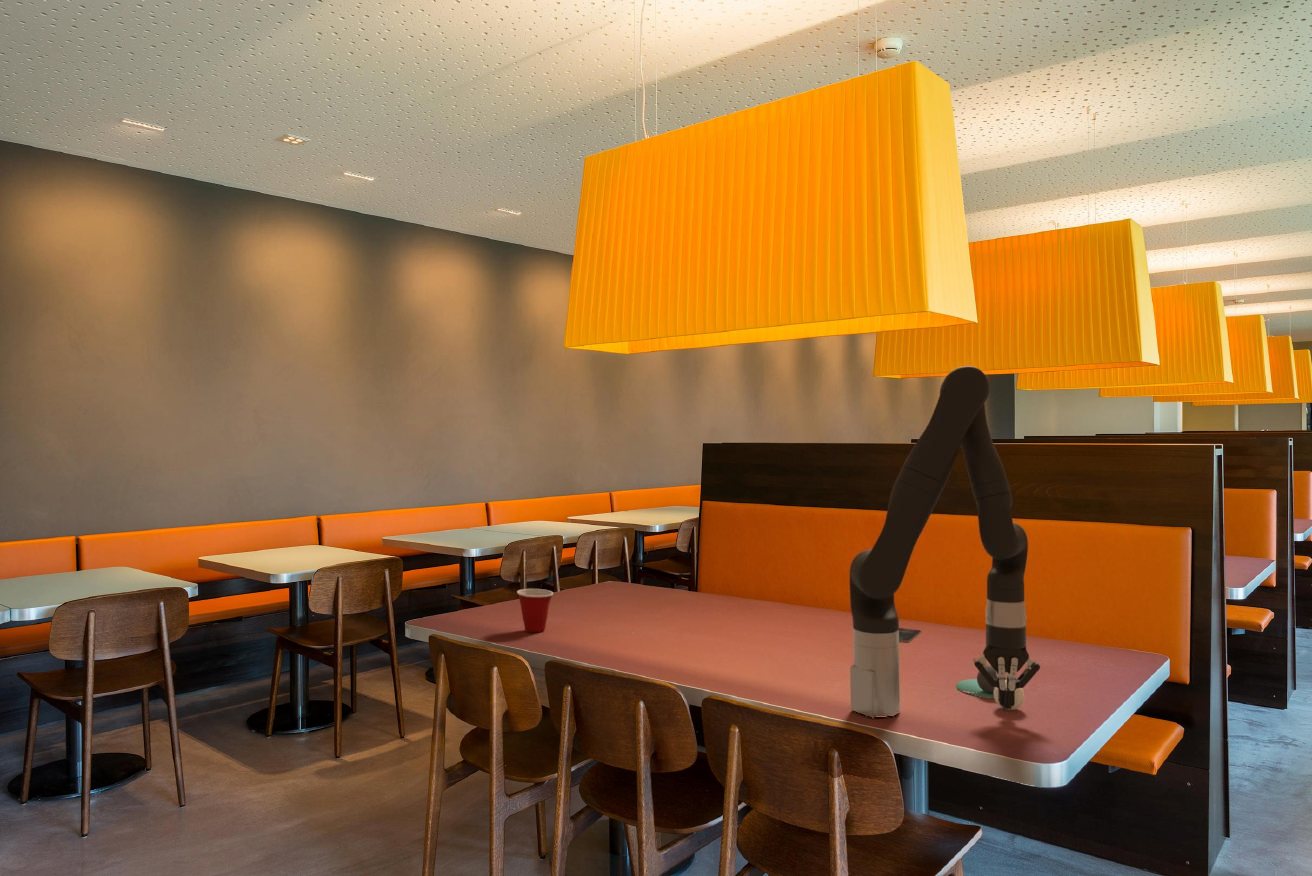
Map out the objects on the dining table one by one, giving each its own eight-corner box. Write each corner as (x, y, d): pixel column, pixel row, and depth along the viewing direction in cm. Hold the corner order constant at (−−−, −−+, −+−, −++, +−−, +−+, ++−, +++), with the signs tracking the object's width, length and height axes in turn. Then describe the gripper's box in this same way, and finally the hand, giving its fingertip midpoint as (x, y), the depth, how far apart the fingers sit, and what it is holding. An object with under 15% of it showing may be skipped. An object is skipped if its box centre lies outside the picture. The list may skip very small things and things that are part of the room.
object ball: (993, 664, 182) (988, 657, 188) (973, 683, 183) (968, 675, 189) (1014, 684, 182) (1008, 676, 188) (994, 703, 182) (989, 695, 188)
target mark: (997, 703, 179) (997, 702, 179) (942, 686, 191) (942, 686, 191) (1036, 691, 187) (1036, 690, 187) (981, 676, 198) (981, 675, 198)
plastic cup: (551, 635, 245) (550, 594, 245) (514, 635, 245) (513, 594, 245) (556, 626, 256) (555, 587, 256) (521, 626, 256) (520, 587, 256)
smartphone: (922, 630, 243) (908, 641, 230) (922, 633, 243) (908, 644, 230) (896, 627, 247) (881, 638, 234) (896, 630, 247) (881, 641, 234)
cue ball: (1014, 670, 175) (1010, 686, 179) (989, 680, 175) (985, 695, 179) (1033, 694, 171) (1028, 709, 175) (1007, 704, 170) (1002, 719, 174)
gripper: (1036, 619, 172) (1037, 703, 172) (968, 616, 175) (968, 699, 175) (1045, 627, 164) (1046, 715, 165) (974, 624, 167) (974, 711, 167)
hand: (1006, 707), depth 170 cm, fingers closed
